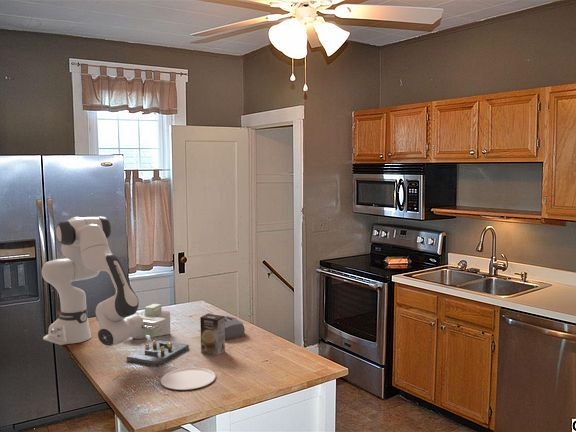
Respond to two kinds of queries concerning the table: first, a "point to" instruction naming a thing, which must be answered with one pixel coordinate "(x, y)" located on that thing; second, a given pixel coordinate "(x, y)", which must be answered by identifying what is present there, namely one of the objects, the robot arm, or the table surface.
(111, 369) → the table surface
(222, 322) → the coffee box
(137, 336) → the cup
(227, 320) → the soft grey pack
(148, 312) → the block
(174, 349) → the chassis
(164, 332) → the photo printer
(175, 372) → the plate
